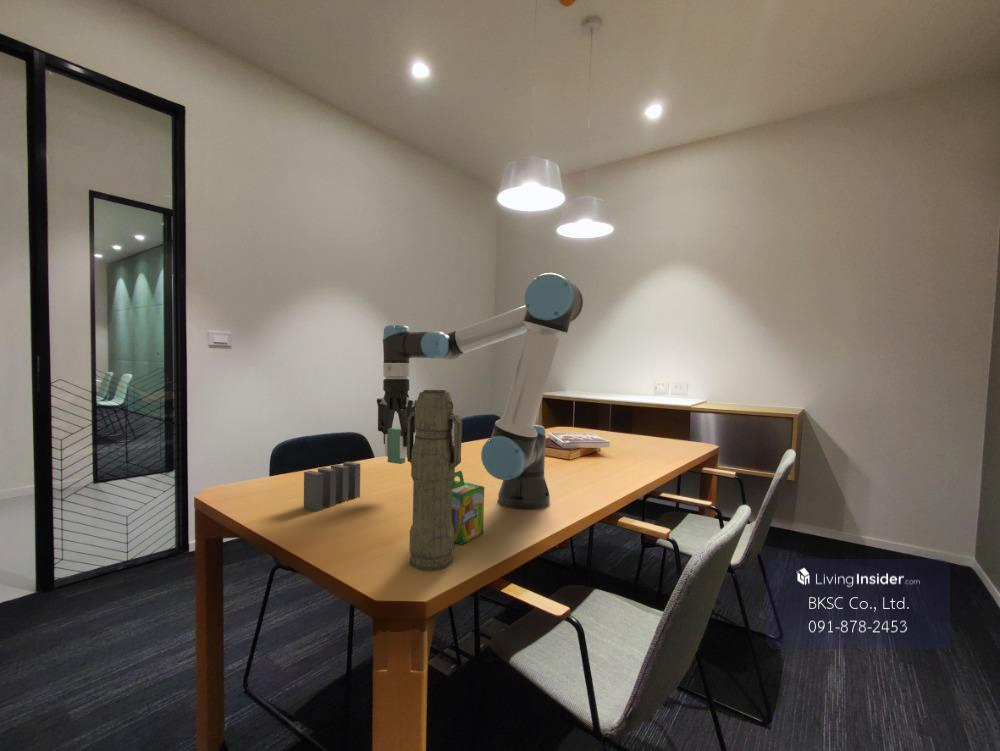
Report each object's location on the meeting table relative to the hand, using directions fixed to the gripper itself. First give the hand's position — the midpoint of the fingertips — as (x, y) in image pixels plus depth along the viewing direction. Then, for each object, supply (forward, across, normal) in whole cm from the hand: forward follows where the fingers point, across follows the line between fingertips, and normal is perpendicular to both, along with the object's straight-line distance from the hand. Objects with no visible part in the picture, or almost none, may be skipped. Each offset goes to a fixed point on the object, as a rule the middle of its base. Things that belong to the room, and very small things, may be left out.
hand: (396, 456), depth 133 cm
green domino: (+2, 0, 0) cm, 2 cm away
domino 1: (+12, -12, -20) cm, 26 cm away
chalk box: (+13, +31, -14) cm, 37 cm away
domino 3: (+12, -12, -11) cm, 20 cm away
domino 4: (+12, -12, -6) cm, 18 cm away
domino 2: (+12, -12, -15) cm, 23 cm away
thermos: (+13, +34, -28) cm, 47 cm away
